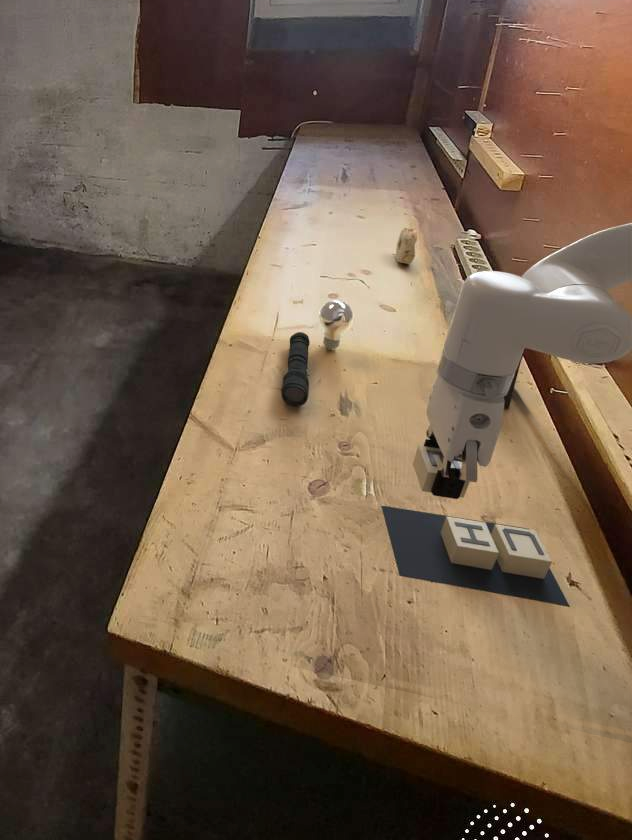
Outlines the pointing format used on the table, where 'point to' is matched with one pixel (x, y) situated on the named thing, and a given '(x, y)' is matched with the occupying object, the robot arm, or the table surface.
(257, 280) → the table surface
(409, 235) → the stone disc
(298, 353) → the flashlight
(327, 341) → the light bulb
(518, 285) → the robot arm
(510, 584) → the mat
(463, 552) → the letter h block
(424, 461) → the letter e tile
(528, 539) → the tile
